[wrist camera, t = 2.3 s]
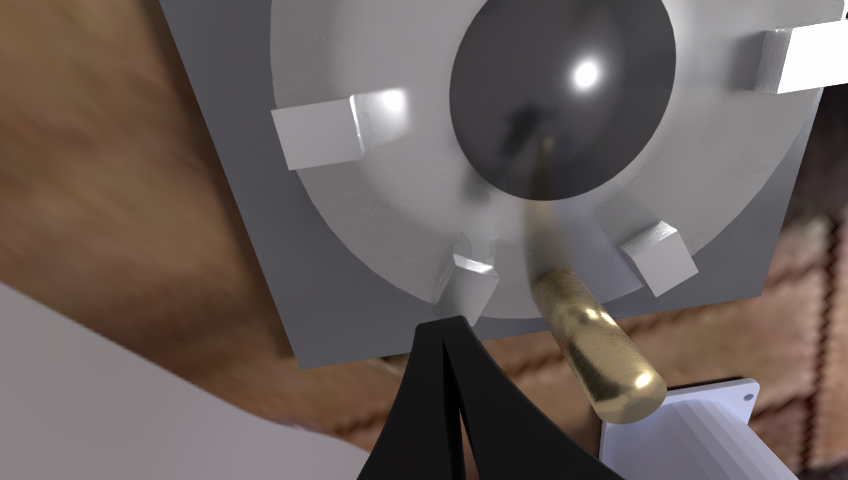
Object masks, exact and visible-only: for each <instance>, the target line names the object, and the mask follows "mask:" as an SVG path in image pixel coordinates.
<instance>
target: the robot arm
mask: <svg viewBox="0 0 848 480" xmlns="http://www.w3.org/2000/svg"><path fill="white" fill-rule="evenodd" d="M759 389H760V385H759V384H758V383H757V382H756V381H755V380H754V379H751V378H746V379H740V380H733V381H727V382H721V383H715V384H709V385H703V386H696V387H690V388H684V389H678V390H672V391H667V394H666V398H665V400H664V402H663V403H662V405H661V406H660V407H659V408H658V409H657V410H656V411H655V412H654V413H652V414H651V415H649V416H648V417H646V418H644V419H642V420H639V421H637V422H634V423H629V424H620V425H618V424H611V423H607V422H605V421H603V422H602V432H601V442H600V451H599V459H597V458H596V457H595V456H594V455H592V454H591V453H590V452H589V451H587V450H586V449H585V448H583V447H582V446H581V445H580V444H578V443H577V442H576V441H575V440H573V439H572V438H571V437H570V436H568V435H567V434H566V433H565V432H564V431H563V430H561V429H560V428H559V427H558V426H557V425H556V424H555V423H553V422H552V421H551V420H550V419H549V418H548V417H547V416H546V415H545V414H544V413H543V412H541V411H540V410H539V409H538V408H537V407H536V406H535V405H534V404H533V403H532V402H531V401H530V400H529V399H528V398H527V397H526V396H525V395H524V394H523V393H522V392H521V391H520V390H519V389H518V387H517V386H516V385H515V384H514V383H513V382H512V381H511V380H510V379H509V378H508V377H507V375H506V374H505V373H504V372H503V371H502V370H501V368H500V367H499V366H498V365H497V363H496V362H495V361H494V360H493V358H492V357H491V356H490V355H489V353H488V352H487V351H486V349H485V348H484V347H483V345H482V344H481V342H480V341H479V340H478V338H477V337H476V335H475V333H474V332H473V330H472V329H471V327H470V325H469V323H468V321H467V319H466V317H464V316H463V315H458V316H454V317H449V318H444V319H439V320H435V321H430V322H425V323H420V324H418V325H417V327H416V328H415V335H414V340H413V345H412V349H411V353H410V357H409V360H408V364H407V367H406V370H405V373H404V376H403V379H402V383H401V385H400V388H399V391H398V393H397V396H396V399H395V401H394V404H393V406H392V409H391V411H390V414H389V416H388V418H387V421H386V423H385V425H384V427H383V430H382V432H381V434H380V436H379V438H378V440H377V442H376V444H375V446H374V448H373V450H372V452H371V454H370V456H369V458H368V460H367V461H366V464H365V465H364V467H363V469H362V471H361V473H360V474H359V476H358V478H357V480H466V473H465V463H464V453H463V442H462V432H461V422H460V413H461V416H462V419H463V423H464V426H465V430H466V433H467V437H468V440H469V443H470V447H471V450H472V454H473V457H474V461H475V464H476V467H477V471H478V474H479V479H480V480H799V479H798V478H797V477H796V476H795V475H794V474H793V473H792V472H791V471H790V470H789V469H788V468H787V467H786V466H785V465H784V464H783V463H782V461H781V460H780V459H779V458H778V457H777V456H776V455H775V454H774V453H773V452H772V451H771V450H770V449H769V448H768V447H767V446H766V445H765V444H764V442H763V441H762V440H761V439H760V438H759V437H758V436H757V435H756V434H755V433H754V432H753V431H752V430H751V429H750V428H749V427H748V426H747V423H748V421H749V418H750V415H751V412H752V409H753V406H754V403H755V401H756V398H757V395H758V392H759ZM459 409H460V412H459Z"/></svg>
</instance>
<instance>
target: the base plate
mask: <svg viewBox="0 0 848 480" xmlns="http://www.w3.org/2000/svg"><path fill="white" fill-rule="evenodd" d="M159 2H160V4H161V7H162V10H163V12H164V15H165V17H166V20H167V23H168V25H169V28H170V30H171V33H172V36H173V38H174V41H175V44H176V46H177V49H178V51H179V54H180V57H181V59H182V62H183V65H184V67H185V70H186V72H187V75H188V78H189V80H190V83H191V85H192V88H193V91H194V93H195V96H196V99H197V101H198V104H199V106H200V109H201V112H202V114H203V117H204V119H205V122H206V125H207V127H208V130H209V133H210V135H211V138H212V140H213V143H214V146H215V148H216V151H217V154H218V156H219V159H220V161H221V164H222V167H223V169H224V172H225V174H226V177H227V180H228V182H229V185H230V188H231V190H232V193H233V195H234V198H235V201H236V203H237V206H238V208H239V211H240V214H241V216H242V219H243V222H244V224H245V227H246V229H247V232H248V235H249V237H250V240H251V243H252V245H253V248H254V250H255V253H256V256H257V258H258V261H259V263H260V266H261V269H262V271H263V274H264V277H265V279H266V282H267V284H268V287H269V290H270V292H271V295H272V297H273V300H274V303H275V305H276V308H277V311H278V313H279V316H280V318H281V321H282V324H283V326H284V329H285V331H286V334H287V337H288V339H289V342H290V345H291V347H292V350H293V352H294V355H295V358H296V360H297V363H298V366H299V368H300V370H302V369H308V368H315V367H321V366H327V365H333V364H340V363H346V362H352V361H358V360H364V359H371V358H377V357H383V356H389V355H396V354H402V353H408V352H411V349H412V345H413V340H414V335H415V328H416V327H417V325H418V324H420V323H425V322H430V321H435V320H439V319H444V318H441V317H438V316H434V315H432V314H431V307H430V303H429V302H426V301H423V300H421V299H419V298H417V297H415V296H413V295H411V294H409V293H407V292H405V291H403V290H401V289H399V288H397V287H396V286H394V285H393V284H391V283H390V282H388V281H387V280H385V279H384V278H382V277H381V276H379V275H378V274H376V273H375V272H374V271H372V270H371V269H370V268H369V267H368V266H367V265H366V264H364V263H363V262H362V261H361V260H360V259H359V258H358V257H356V256H355V255H354V254H353V253H352V252H351V251H350V250H349V249H348V248H347V247H346V246H345V244H344V243H343V242H342V241H341V240H340V239H339V238H338V237H337V235H336V234H335V233H334V232H333V231H332V230H331V229H330V227H329V226H328V224H327V223H326V221H325V220H324V218H323V217H322V216H321V214H320V213H319V211H318V210H317V208H316V207H315V205H314V204H313V202H312V201H311V199H310V197H309V195H308V193H307V191H306V189H305V187H304V185H303V183H302V181H301V179H300V177H299V175H298V174H297V172H296V170H289V169H288V166H287V162H286V159H285V156H284V152H283V149H282V146H281V143H280V139H279V136H278V133H277V129H276V126H275V123H274V120H273V116H272V113H271V110H273V109H275V108H277V106H276V102H275V97H274V88H273V78H272V69H271V59H270V31H271V5H272V0H159ZM847 10H848V0H845V7H844V12H843V16H842V19H844V18H845V16H846V13H847ZM823 88H824V86H823V87H821V88H820V90H819V92H818V94H817V96H816V99H815V101H814V103H813V105H812V107H811V109H810V111H809V113H808V116H807V118H806V120H805V122H804V124H803V126H802V128H801V129H800V131H799V133H798V134H797V136H796V138H795V139H794V141H793V143H792V144H791V146H790V148H789V150H788V151H787V153H786V155H785V156H784V158H783V159H782V161H781V162H780V163H779V165H778V166H777V168H776V169H775V170H774V172H773V173H772V175H771V176H770V177H769V179H768V180H767V182H766V183H765V184H764V186H763V187H762V188H761V189H760V191H759V192H758V193H757V194H756V195H755V196H754V197H753V199H752V200H751V201H750V202H749V203H748V204H747V206H746V207H745V208H744V209H743V210H742V211H741V213H740V214H739V215H738V216H737V217H736V218H735V219H733V220H732V221H731V222H730V223H729V224H728V225H727V226H726V227H725V228H724V229H723V230H722V231H721V232H720V233H719V234H718V235H717V236H716V237H715V238H714V239H712V240H711V241H710V242H709V243H707V244H706V245H705V246H704V247H702V248H701V249H700V250H699V251H698V252H696V253H695V254H694V255H693V256H691V258H692V260H693V262H694V264H695V266H696V268H697V270H698V271H699V272H698V273H696V274H695V275H693V276H691V277H690V278H688V279H686V280H685V281H683V282H681V283H680V284H678V285H676V286H675V287H673V288H671V289H670V290H668V291H666V292H665V293H663V294H661V295H659V296H658V297H655V296H654V295H653V294H652V293H651V292H650V291H648V290H647V289H646V288H645V287H644V286H643V287H641V288H639V289H638V290H635V291H633V292H631V293H628V294H626V295H624V296H621V297H619V298H617V299H614V300H612V301H609V302H606V303H603V304H601V305H602V306H603V307H604V309H605V310H606V311H607V312H608V313H609V315H610V316H611V317H612V318H613V320H614V319H620V318H626V317H633V316H639V315H645V314H651V313H658V312H664V311H670V310H676V309H683V308H689V307H695V306H701V305H707V304H714V303H720V302H726V301H732V300H739V299H745V298H751V297H757V296H761V292H762V289H763V286H764V282H765V279H766V276H767V273H768V269H769V266H770V263H771V259H772V256H773V253H774V249H775V246H776V243H777V240H778V236H779V233H780V230H781V226H782V223H783V220H784V217H785V213H786V210H787V207H788V203H789V200H790V197H791V194H792V190H793V187H794V184H795V180H796V177H797V174H798V171H799V167H800V164H801V161H802V157H803V154H804V151H805V148H806V144H807V141H808V138H809V134H810V131H811V128H812V125H813V121H814V118H815V115H816V111H817V108H818V105H819V102H820V98H821V95H822V92H823ZM470 327H471V329H472V330H473V332H474V333H475V335H476V337H477V338H478V340H479V341H483V340H489V339H495V338H502V337H508V336H514V335H520V334H527V333H533V332H539V331H545V330H549V328H548V327H547V325H546V323H545V321H544V320H543V318H542V317H539V318H530V319H501V318H492V317H483V316H479V318H478V320H477V322H476V323H475V325H474V327H473V326H470Z"/></svg>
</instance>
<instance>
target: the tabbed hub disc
mask: <svg viewBox="0 0 848 480" xmlns="http://www.w3.org/2000/svg"><path fill="white" fill-rule="evenodd" d="M844 7H845V0H272V5H271V31H270V59H271V69H272V78H273V88H274V97H275V102H276V106H277V108H275V109H273V110H271V113H272V116H273V120H274V123H275V126H276V129H277V133H278V136H279V139H280V143H281V146H282V149H283V152H284V156H285V159H286V162H287V166H288V169H289V170H296V172H297V174H298V175H299V177H300V179H301V181H302V183H303V185H304V187H305V189H306V191H307V193H308V195H309V197H310V199H311V201H312V202H313V204H314V205H315V207H316V208H317V210H318V211H319V213H320V214H321V216H322V217H323V218H324V220H325V221H326V223H327V224H328V226H329V227H330V229H331V230H332V231H333V232H334V233H335V234H336V235H337V237H338V238H339V239H340V240H341V241H342V242H343V243H344V244H345V246H346V247H347V248H348V249H349V250H350V251H351V252H352V253H353V254H354V255H355V256H356V257H358V258H359V259H360V260H361V261H362V262H363V263H364V264H366V265H367V266H368V267H369V268H370V269H371V270H372V271H374V272H375V273H376V274H378V275H379V276H381V277H382V278H384V279H385V280H387V281H388V282H390V283H391V284H393V285H394V286H396V287H397V288H399V289H401V290H403V291H405V292H407V293H409V294H411V295H413V296H415V297H417V298H419V299H421V300H423V301H426V302H429V303H430V307H431V314H432V315H434V316H438V317H441V318H449V317H454V316H458V315H463V316H464V317H466V319H467V321H468V323H469V325H470V326H473V327H474V325H475V323H476V322H477V320H478V318H479V316H483V317H492V318H501V319H530V318H539V317H542V318H543V320H544V321H545V323H546V325H547V327H548V328H549V330H550V332H551V334H552V335H553V337H554V339H555V341H556V343H557V344H558V346H559V348H560V350H561V351H562V353H563V355H564V357H565V358H566V360H567V362H568V364H569V366H570V367H571V369H572V371H573V373H574V374H575V376H576V378H577V380H578V382H579V383H580V385H581V387H582V389H583V390H584V392H585V394H586V396H587V397H588V399H589V401H590V403H591V405H592V406H593V408H594V410H595V412H596V413H597V415H598V416H599V418H600V419H602V420H603V421H605V422H607V423H611V424H618V425H620V424H629V423H634V422H637V421H639V420H642V419H644V418H646V417H648V416H649V415H651V414H652V413H654V412H655V411H656V410H657V409H658V408H659V407H660V406H661V405H662V403H663V402H664V400H665V398H666V394H667V386H666V383H665V381H664V380H663V379H662V378H661V377H660V375H659V374H658V373H657V372H656V370H655V369H654V368H653V367H652V366H651V364H650V363H649V362H648V361H647V360H646V358H645V357H644V356H643V355H642V354H641V352H640V351H639V350H638V349H637V347H636V346H635V345H634V344H633V343H632V341H631V340H630V339H629V338H628V337H627V335H626V334H625V333H624V332H623V330H622V329H621V328H620V327H619V326H618V324H617V323H616V322H615V321H614V320H613V318H612V317H611V316H610V315H609V313H608V312H607V311H606V310H605V309H604V307H603V306H602V305H601V304H603V303H606V302H609V301H612V300H614V299H617V298H619V297H621V296H624V295H626V294H628V293H631V292H633V291H635V290H638V289H639V288H641V287H643V286H644V287H645V288H646V289H647V290H648V291H650V292H651V293H652V294H653V295H654V296H655V297H658V296H659V295H661V294H663V293H665V292H666V291H668V290H670V289H671V288H673V287H675V286H676V285H678V284H680V283H681V282H683V281H685V280H686V279H688V278H690V277H691V276H693V275H695V274H696V273H698V272H699V271H698V270H697V268H696V266H695V264H694V262H693V260H692V258H691V256H693V255H694V254H695V253H696V252H698V251H699V250H700V249H701V248H702V247H704V246H705V245H706V244H707V243H709V242H710V241H711V240H712V239H714V238H715V237H716V236H717V235H718V234H719V233H720V232H721V231H722V230H723V229H724V228H725V227H726V226H727V225H728V224H729V223H730V222H731V221H732V220H733V219H735V218H736V217H737V216H738V215H739V214H740V213H741V211H742V210H743V209H744V208H745V207H746V206H747V204H748V203H749V202H750V201H751V200H752V199H753V197H754V196H755V195H756V194H757V193H758V192H759V191H760V189H761V188H762V187H763V186H764V184H765V183H766V182H767V180H768V179H769V177H770V176H771V175H772V173H773V172H774V170H775V169H776V168H777V166H778V165H779V163H780V162H781V161H782V159H783V158H784V156H785V155H786V153H787V151H788V150H789V148H790V146H791V144H792V143H793V141H794V139H795V138H796V136H797V134H798V133H799V131H800V129H801V128H802V126H803V124H804V122H805V120H806V118H807V116H808V113H809V111H810V109H811V107H812V105H813V103H814V101H815V99H816V96H817V94H818V92H819V90H820V88H821V87H823V86H829V85H835V84H842V83H848V18H844V19H842V16H843V12H844Z"/></svg>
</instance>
